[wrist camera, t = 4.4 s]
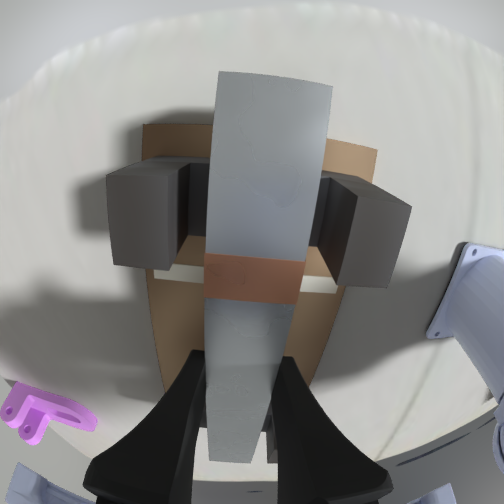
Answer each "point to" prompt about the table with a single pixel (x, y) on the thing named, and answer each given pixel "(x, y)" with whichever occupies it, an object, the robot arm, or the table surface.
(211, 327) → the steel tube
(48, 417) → the bracket
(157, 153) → the board
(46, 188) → the table surface
